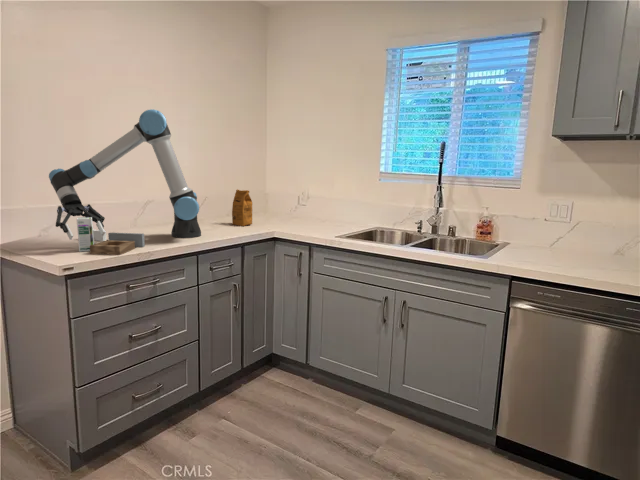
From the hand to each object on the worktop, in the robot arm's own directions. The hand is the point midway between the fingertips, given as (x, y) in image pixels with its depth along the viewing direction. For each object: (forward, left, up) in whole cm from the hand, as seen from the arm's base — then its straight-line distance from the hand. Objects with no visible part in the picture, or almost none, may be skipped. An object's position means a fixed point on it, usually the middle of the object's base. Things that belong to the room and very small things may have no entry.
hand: (88, 235), depth 191 cm
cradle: (-10, -1, -7) cm, 12 cm away
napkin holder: (+13, -26, -7) cm, 30 cm away
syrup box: (+2, -1, -7) cm, 7 cm away
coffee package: (-45, -89, -7) cm, 100 cm away
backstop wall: (-10, -13, -7) cm, 18 cm away
